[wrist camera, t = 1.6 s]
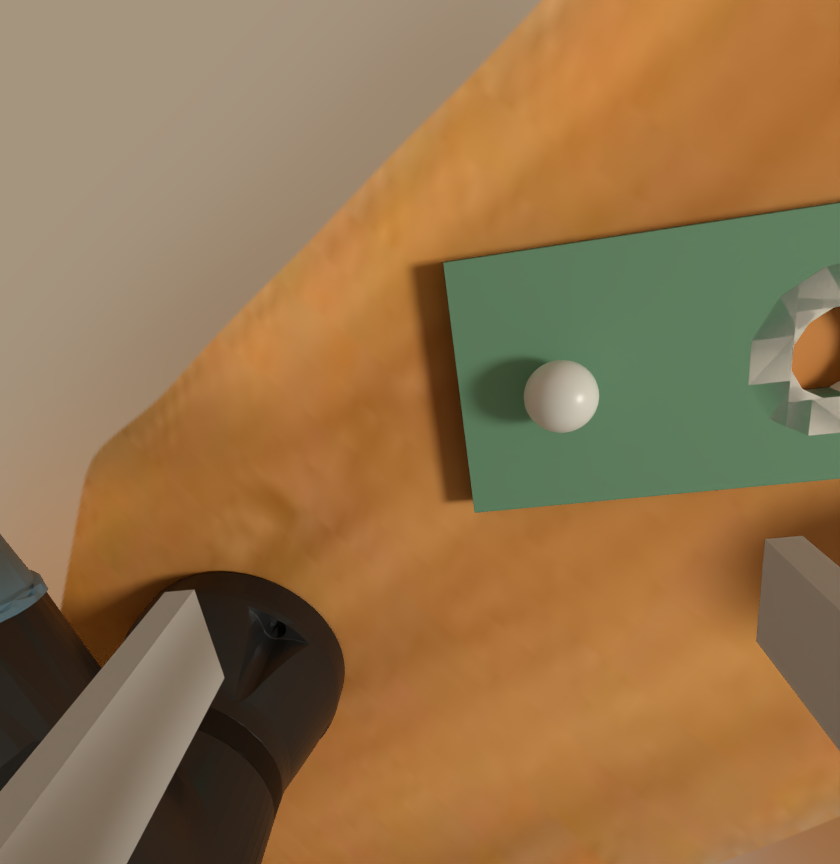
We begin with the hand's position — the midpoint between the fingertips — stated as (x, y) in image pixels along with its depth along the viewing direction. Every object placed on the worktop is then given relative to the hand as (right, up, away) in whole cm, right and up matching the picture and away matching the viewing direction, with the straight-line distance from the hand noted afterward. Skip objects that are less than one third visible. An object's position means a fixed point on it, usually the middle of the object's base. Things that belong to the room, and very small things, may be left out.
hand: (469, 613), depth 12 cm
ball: (+6, +6, +14) cm, 16 cm away
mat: (+13, +8, +16) cm, 22 cm away
